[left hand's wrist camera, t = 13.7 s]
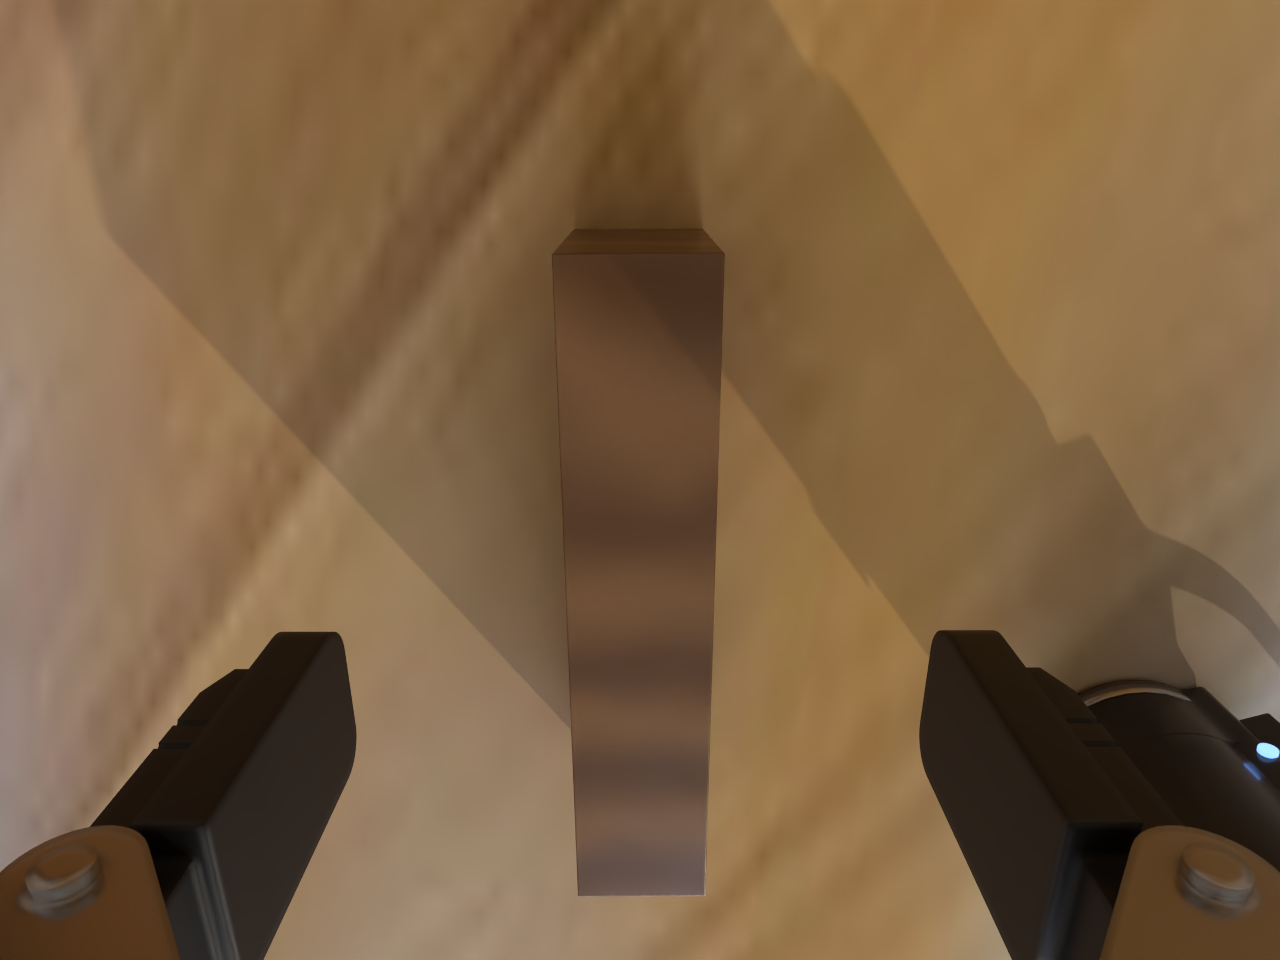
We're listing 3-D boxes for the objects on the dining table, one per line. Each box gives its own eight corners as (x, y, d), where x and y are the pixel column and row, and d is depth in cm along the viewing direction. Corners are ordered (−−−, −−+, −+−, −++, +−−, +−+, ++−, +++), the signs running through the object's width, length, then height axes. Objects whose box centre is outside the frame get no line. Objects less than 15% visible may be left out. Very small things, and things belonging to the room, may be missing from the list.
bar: (573, 229, 33) (551, 253, 25) (703, 228, 33) (724, 252, 25) (589, 751, 42) (578, 897, 34) (692, 751, 42) (705, 896, 34)
